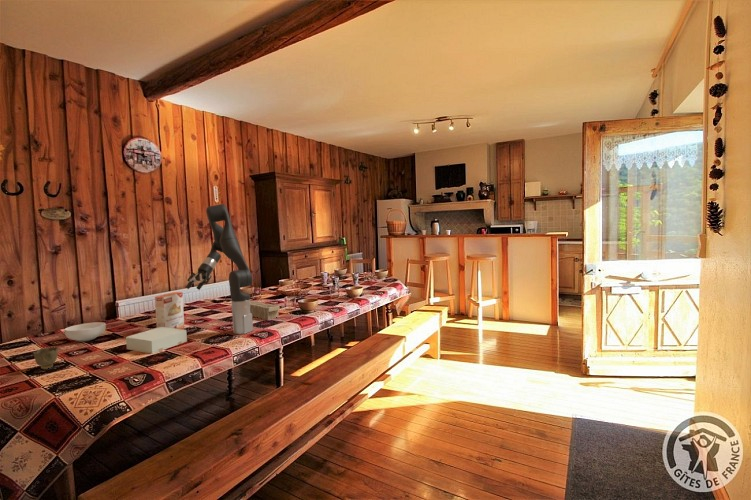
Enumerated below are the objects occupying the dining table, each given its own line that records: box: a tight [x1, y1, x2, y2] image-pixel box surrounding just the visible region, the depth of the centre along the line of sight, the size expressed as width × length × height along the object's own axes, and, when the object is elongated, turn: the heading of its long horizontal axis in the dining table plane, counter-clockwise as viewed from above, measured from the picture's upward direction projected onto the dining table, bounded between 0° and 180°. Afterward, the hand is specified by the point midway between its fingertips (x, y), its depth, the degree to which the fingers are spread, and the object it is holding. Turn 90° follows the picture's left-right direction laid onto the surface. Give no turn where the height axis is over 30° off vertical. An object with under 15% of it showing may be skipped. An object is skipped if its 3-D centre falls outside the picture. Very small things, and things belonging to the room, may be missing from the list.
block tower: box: [250, 300, 280, 321], centre depth 228 cm, size 8×8×29 cm
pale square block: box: [125, 327, 188, 355], centre depth 175 cm, size 18×18×6 cm
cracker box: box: [154, 291, 185, 330], centre depth 197 cm, size 14×6×21 cm, turn 168°
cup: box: [32, 346, 58, 370], centre depth 149 cm, size 8×7×8 cm
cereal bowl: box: [64, 321, 107, 343], centre depth 188 cm, size 17×17×7 cm
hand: (192, 288), depth 210 cm, fingers open, 8 cm apart
